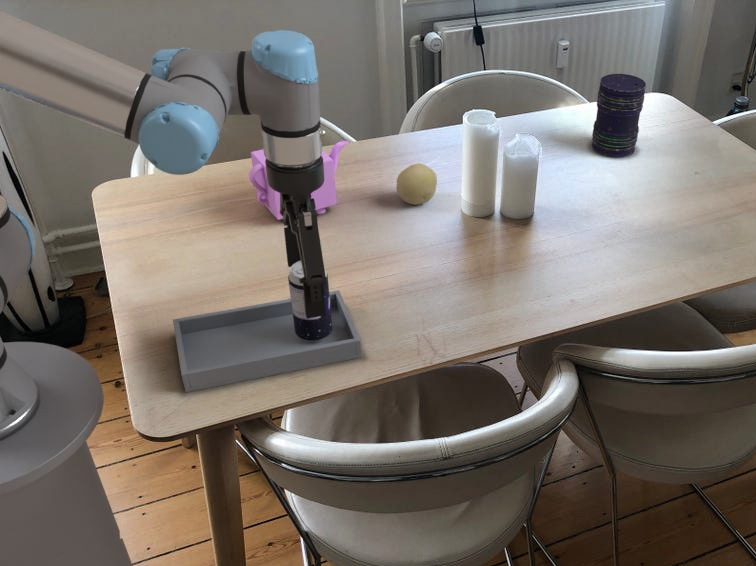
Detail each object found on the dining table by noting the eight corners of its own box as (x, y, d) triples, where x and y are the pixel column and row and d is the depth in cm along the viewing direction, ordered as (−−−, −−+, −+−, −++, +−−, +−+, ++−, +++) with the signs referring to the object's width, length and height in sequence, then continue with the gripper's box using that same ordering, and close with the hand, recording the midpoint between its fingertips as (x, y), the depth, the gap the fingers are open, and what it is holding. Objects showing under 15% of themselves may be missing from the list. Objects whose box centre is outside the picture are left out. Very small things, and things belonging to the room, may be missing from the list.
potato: (440, 211, 160) (440, 173, 155) (399, 213, 159) (398, 175, 154) (434, 192, 166) (434, 155, 161) (395, 194, 165) (394, 157, 160)
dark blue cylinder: (585, 152, 183) (594, 86, 173) (596, 135, 190) (605, 70, 180) (630, 161, 180) (641, 94, 171) (639, 143, 187) (650, 78, 178)
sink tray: (185, 392, 118) (181, 375, 116) (176, 336, 128) (172, 319, 126) (361, 357, 126) (360, 340, 124) (340, 306, 135) (339, 290, 133)
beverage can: (338, 338, 128) (333, 273, 120) (304, 349, 125) (296, 283, 118) (323, 318, 131) (317, 254, 124) (289, 329, 129) (281, 264, 121)
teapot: (266, 230, 152) (257, 168, 144) (245, 206, 159) (235, 145, 151) (363, 204, 161) (360, 144, 153) (340, 182, 168) (336, 123, 160)
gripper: (344, 197, 102) (351, 334, 115) (303, 115, 119) (313, 242, 133) (282, 205, 99) (297, 344, 113) (250, 120, 117) (266, 248, 130)
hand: (306, 289), depth 123 cm, fingers open, 13 cm apart
